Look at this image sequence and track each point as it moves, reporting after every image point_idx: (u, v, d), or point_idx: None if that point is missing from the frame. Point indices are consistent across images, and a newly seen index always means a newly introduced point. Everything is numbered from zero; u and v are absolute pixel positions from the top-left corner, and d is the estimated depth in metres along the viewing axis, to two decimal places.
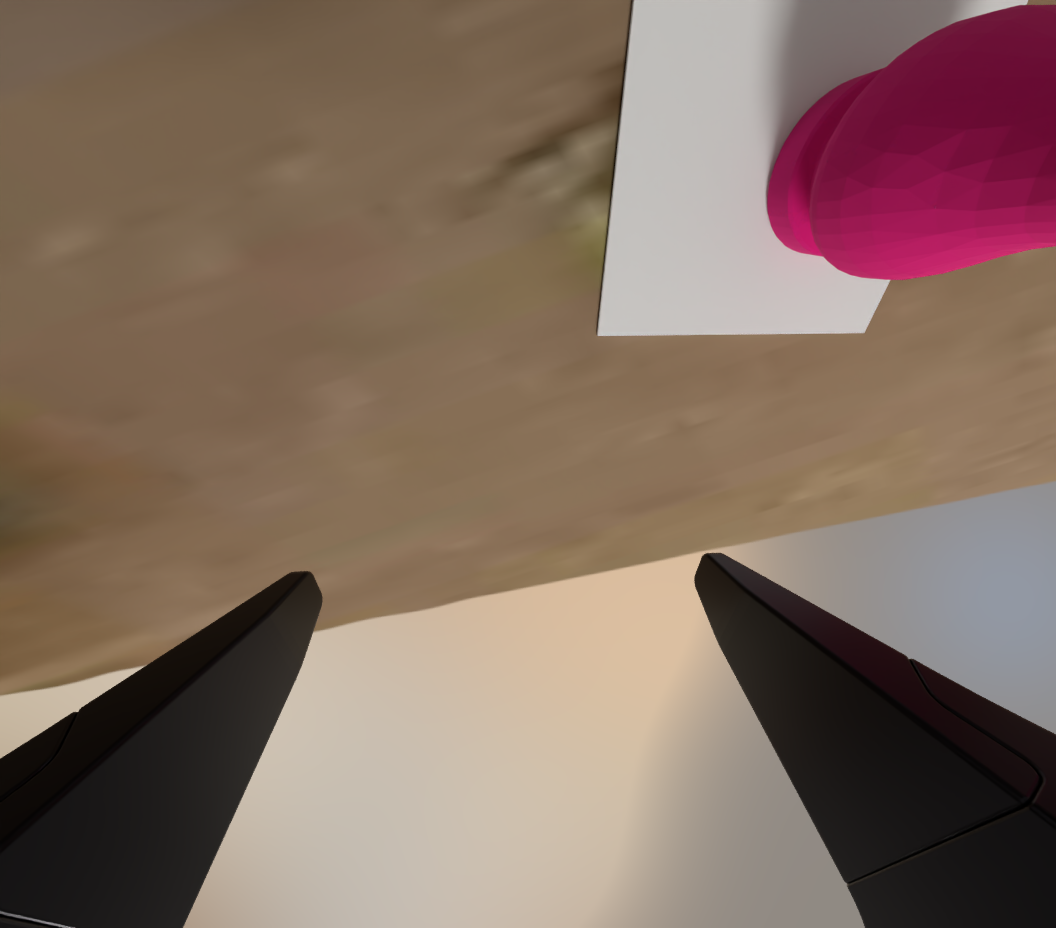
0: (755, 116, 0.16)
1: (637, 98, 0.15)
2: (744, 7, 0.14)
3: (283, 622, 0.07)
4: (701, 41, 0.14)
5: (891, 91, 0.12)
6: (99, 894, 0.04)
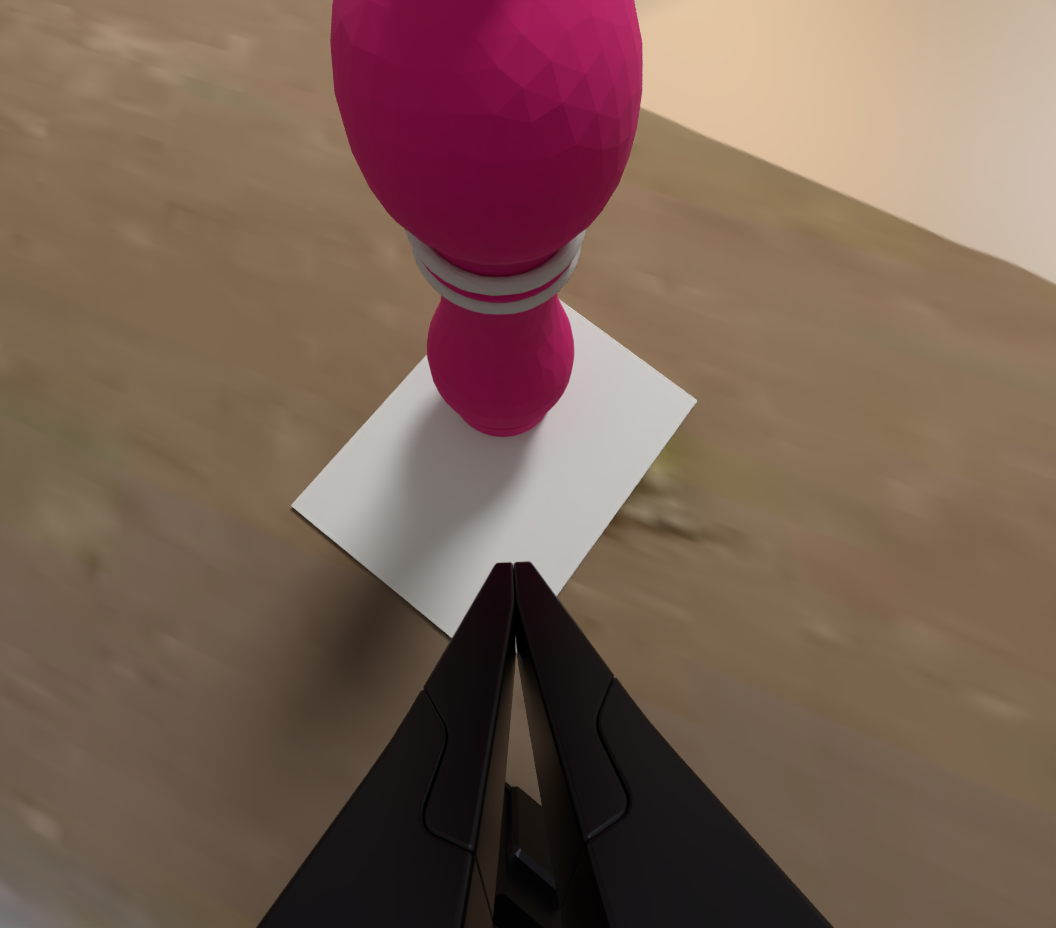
0: (541, 454, 0.23)
1: (604, 512, 0.23)
2: (529, 509, 0.23)
3: (515, 610, 0.08)
4: (558, 511, 0.22)
5: (530, 413, 0.18)
6: None
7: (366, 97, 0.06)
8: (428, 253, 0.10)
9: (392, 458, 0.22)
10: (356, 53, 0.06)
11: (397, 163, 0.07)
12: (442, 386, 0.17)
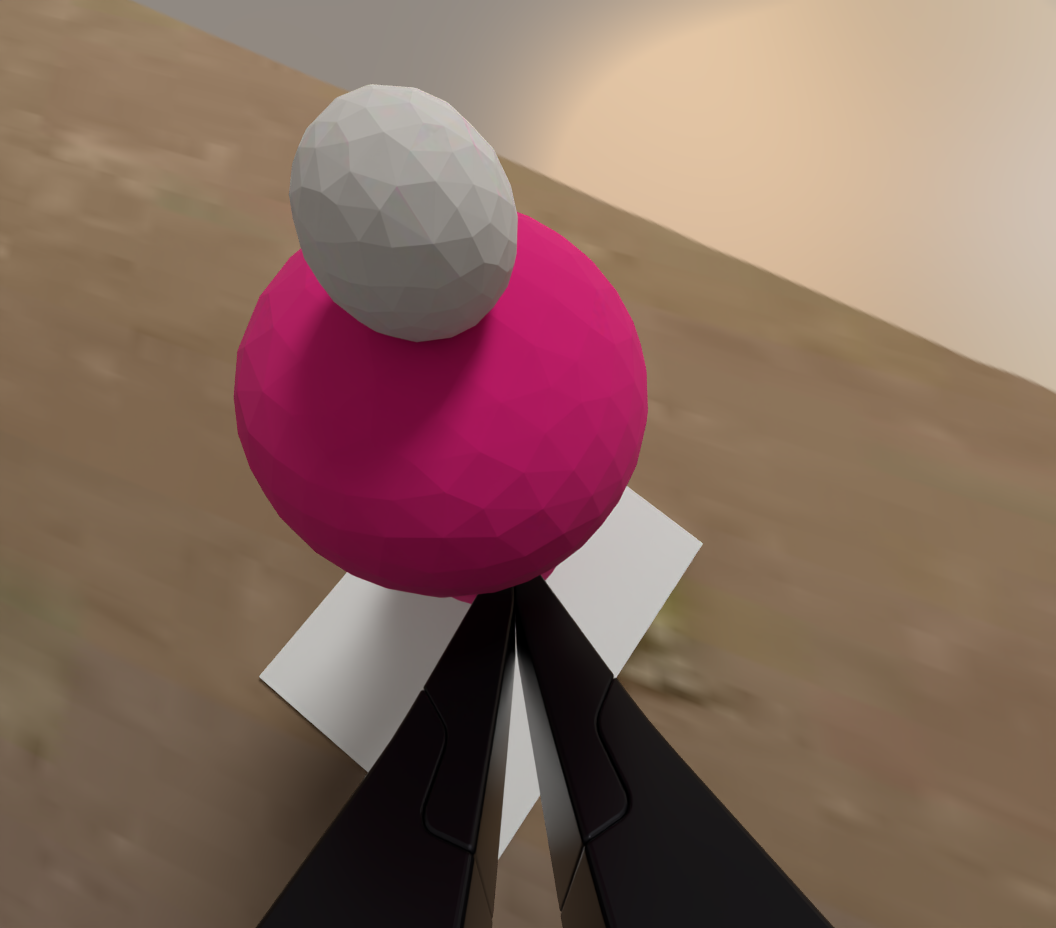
0: None
1: None
2: None
3: None
4: None
5: None
6: None
7: (267, 486, 0.04)
8: None
9: (371, 618, 0.21)
10: (252, 440, 0.04)
11: (314, 547, 0.05)
12: None
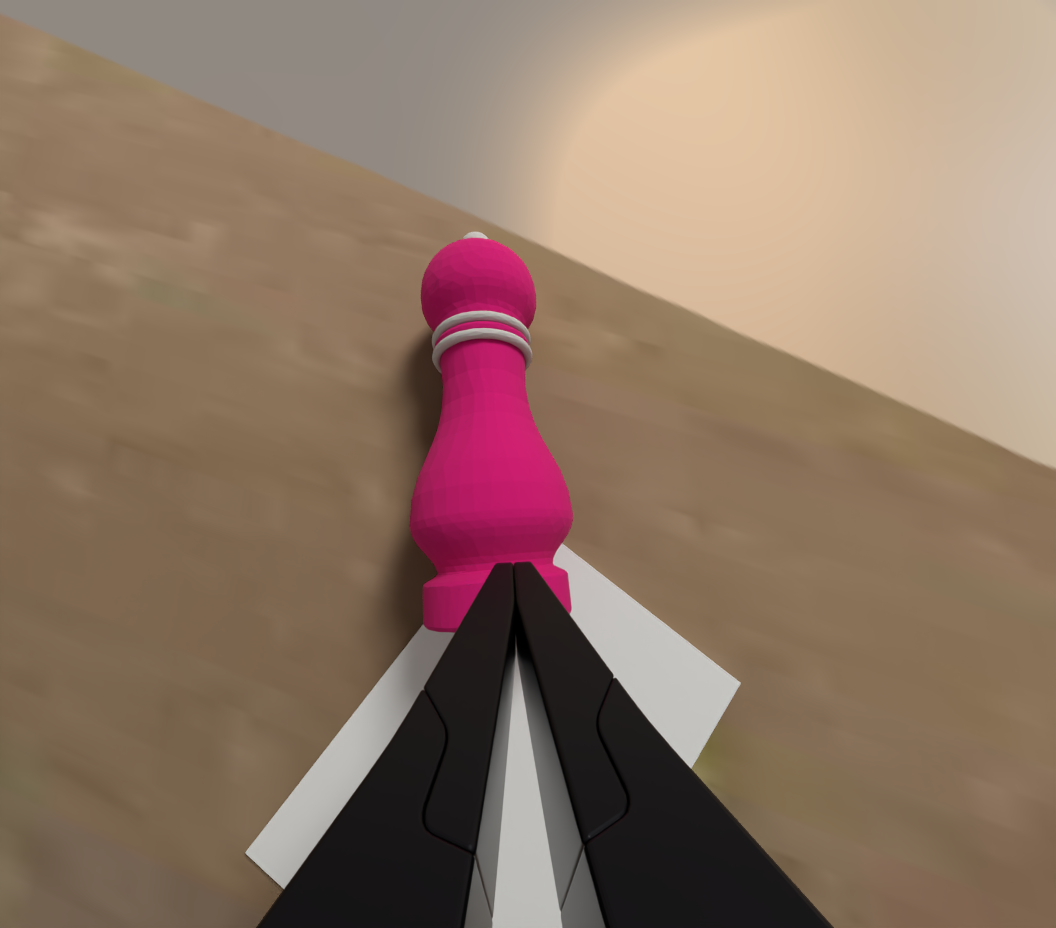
0: None
1: None
2: (540, 840, 0.18)
3: (515, 610, 0.08)
4: None
5: (515, 481, 0.14)
6: None
7: None
8: None
9: None
10: None
11: (437, 256, 0.18)
12: (419, 486, 0.16)
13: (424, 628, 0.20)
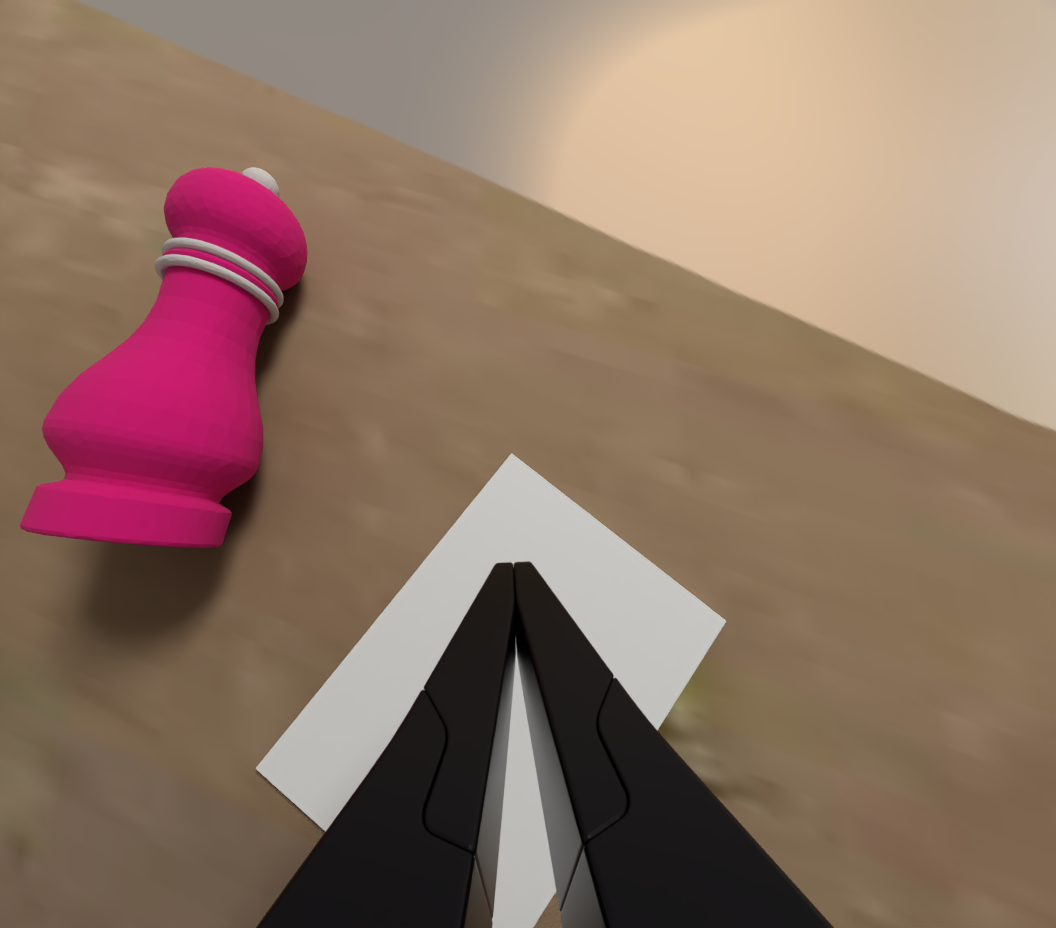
0: None
1: None
2: (533, 762, 0.19)
3: (515, 610, 0.08)
4: None
5: None
6: None
7: (285, 207, 0.20)
8: (260, 270, 0.19)
9: (374, 704, 0.19)
10: (276, 197, 0.20)
11: (296, 227, 0.20)
12: (221, 416, 0.17)
13: (424, 566, 0.21)
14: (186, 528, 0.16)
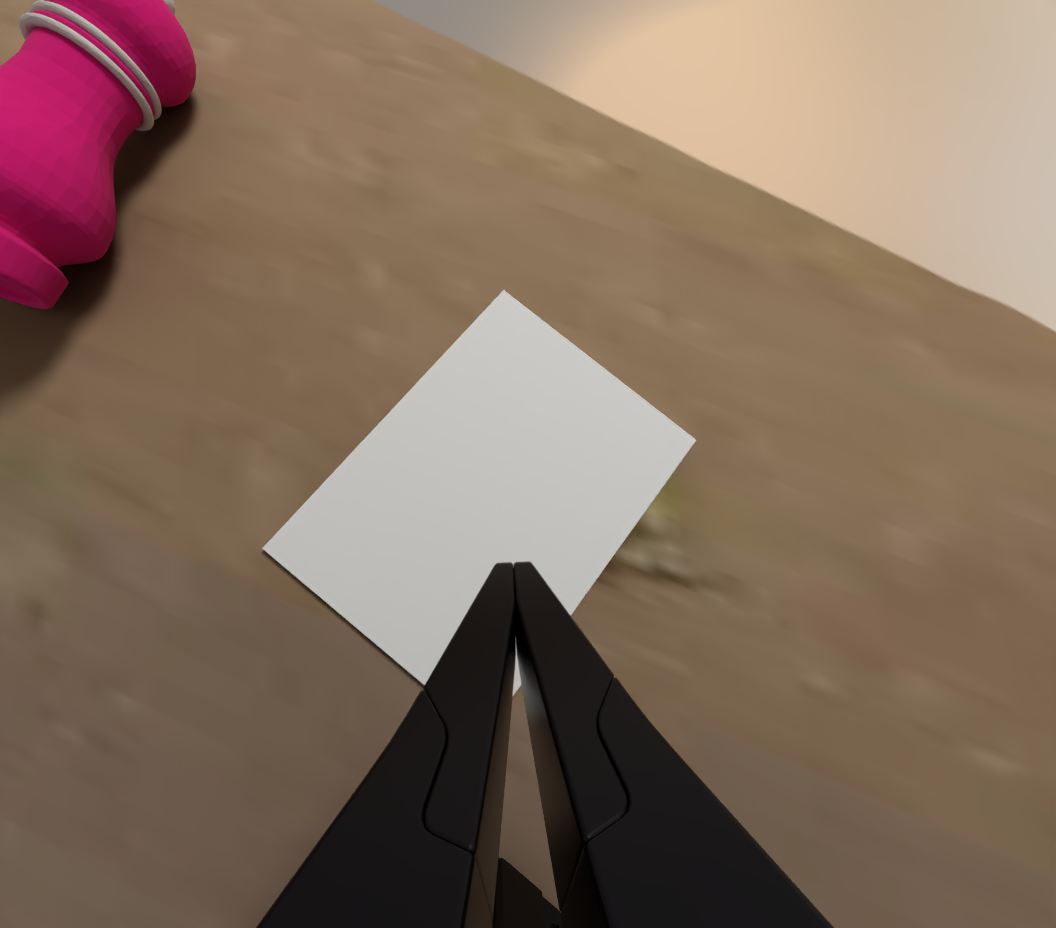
0: (534, 495, 0.22)
1: (599, 557, 0.21)
2: (520, 553, 0.21)
3: (515, 610, 0.08)
4: (551, 556, 0.21)
5: None
6: None
7: None
8: None
9: (374, 497, 0.21)
10: None
11: None
12: None
13: (421, 382, 0.22)
14: None
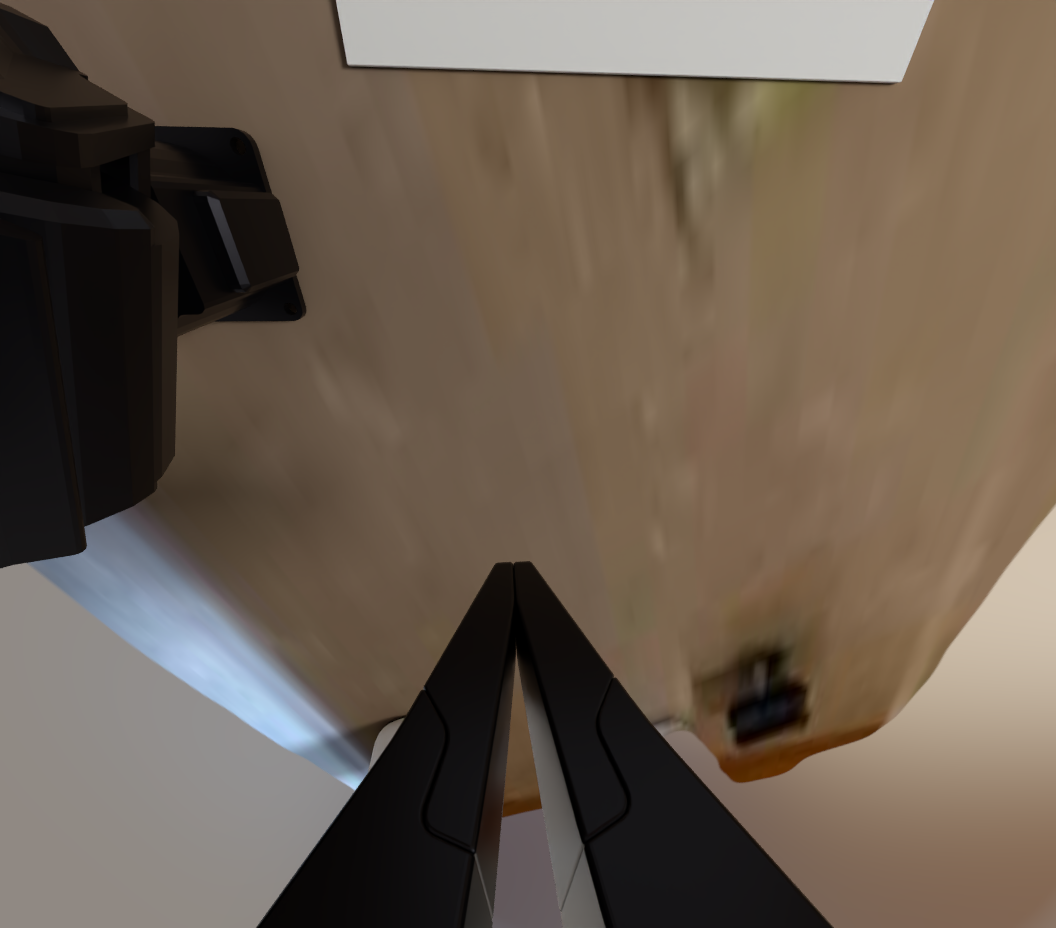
0: None
1: (659, 51, 0.13)
2: None
3: (515, 610, 0.08)
4: None
5: None
6: None
7: None
8: None
9: None
10: None
11: None
12: None
13: None
14: None
